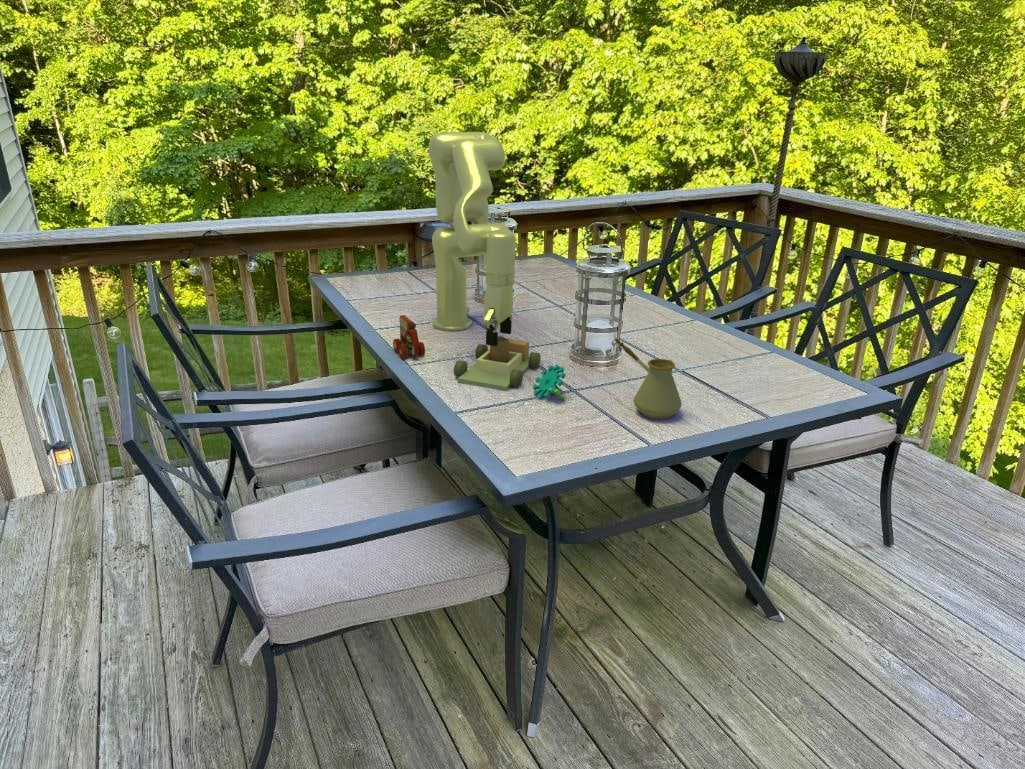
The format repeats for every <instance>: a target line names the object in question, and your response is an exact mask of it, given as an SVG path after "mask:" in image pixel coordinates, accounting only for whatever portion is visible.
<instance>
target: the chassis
mask: <svg viewBox="0 0 1025 769" xmlns="http://www.w3.org/2000/svg"><path fill="white" fill-rule="evenodd" d="M505 338H506V339H508V340H509V362H508V363H503V362H497V361H490V348H488V345H486V344H482V343H478V344H477V345H476V347H475V359H476V363H474V364H473V365H472V366H471V367H469V369H468V362H467V361H465V360H460V359H459V360H457V361H455V362H454V363H455V364H454V365H453V375H454V377H457V383H458V384H465V385H471V386H475V385H476V387H480V388H481V387H482V388H487V389H494V390H498V389H499V390H500V391H504V392H508V391H509V390H510V388H511V387H515V388H520V387H521V386H522V383H523V376H524V375H525V374H526V373H527V372H528V371H529V370H530V369H535V370H537V369H538V368H539V367H540V365H541V364H540V363H541V359H542V358H541V353H540V352H535V351H531V352H530V341H529V340H522V339H515V338H509V337H505ZM529 353H530V354H529ZM529 368H530V369H529ZM528 369H529V370H528ZM527 370H528V371H527ZM526 371H527V372H526ZM519 386H520V387H519Z"/></svg>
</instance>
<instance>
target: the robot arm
mask: <svg viewBox="0 0 1025 769" xmlns="http://www.w3.org/2000/svg"><path fill="white" fill-rule="evenodd" d="M428 154H429V159H430V163H431V165H432V168H433V171H434V172H433V173H434V177H435V205H436V206H435V207H436V208H435V209H436V215H437V217H438V220H440V221H441V222H443V223H453V225H449V226H443V227H440V228H439V227H438V228H437V229H436V230H434V232H433V234H432V237H431V244H432V250H433V254H434V262H435V279H436V280H435V281H436V284H435V285H436V311H437V312H436V318H434V319H433V320H432V326H433V327H434V328H435V329H437V330H440V331H448V332H451V331H452V332H457V331H462V330H466V329H467V330H468V328H470V327H471V326H472V324H473V322H472V320H471V319H470V318H469V317H468V313H469V312H470V311H471V308H470V307H469V305H467V303H468V301H467V297H468V296H467V294H468V293H467V269H466V268H465V266H464V265H463V263H461V261H460V260H459V258H468V257H479V256H482V255H484V254H485V285H486V286H485V290H484V291H485V292H484V302H483V318H482V320H483V322H484V328H485V345H487V346H489V347H490V346H497V345H498V337H499V333H500V334H505V335H511V334H512V320H513V315H512V313H513V309H514V291H513V290H514V288H513V286H514V285H515V275H516V274H515V270H516V268H515V267H516V266H515V265H516V235H515V233H514V232H513V231H511V230H510V228H509V227H508V226H507V225H506V224H505V223H503V222H502V223H501V222H500V223H499V222H495V223H494V222H493V223H489V218H490V217H489V202H488V198H489V197H491V195H492V193H493V190H494V188H493V187H494V186H493V183H492V180H491V176H490V172H489V171H499V170H501V169H502V168H504V164H505V162H506V154H505V150H504V147H503V145H502V143H501V141H499V139H498V138H496V137H495V136H493V135H492V134H489V133H488V132H484V131H448V132H439V133H435V134H433V135H432V136H431V138H430V139H429V143H428ZM468 222H471V224H468ZM493 324H494V325H493ZM498 327H499V332H498V331H497V330H498Z"/></svg>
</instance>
